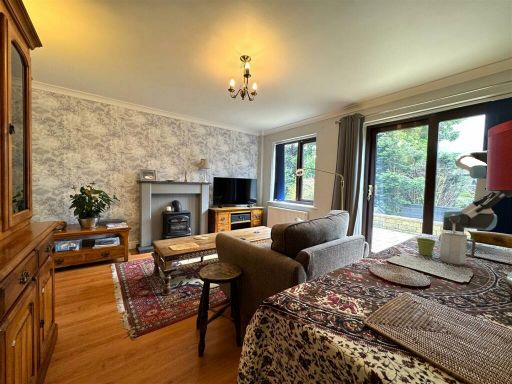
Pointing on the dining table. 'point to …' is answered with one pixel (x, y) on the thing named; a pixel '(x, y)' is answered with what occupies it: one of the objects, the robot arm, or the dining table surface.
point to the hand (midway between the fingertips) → (465, 214)
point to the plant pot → (425, 246)
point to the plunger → (454, 221)
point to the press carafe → (455, 247)
